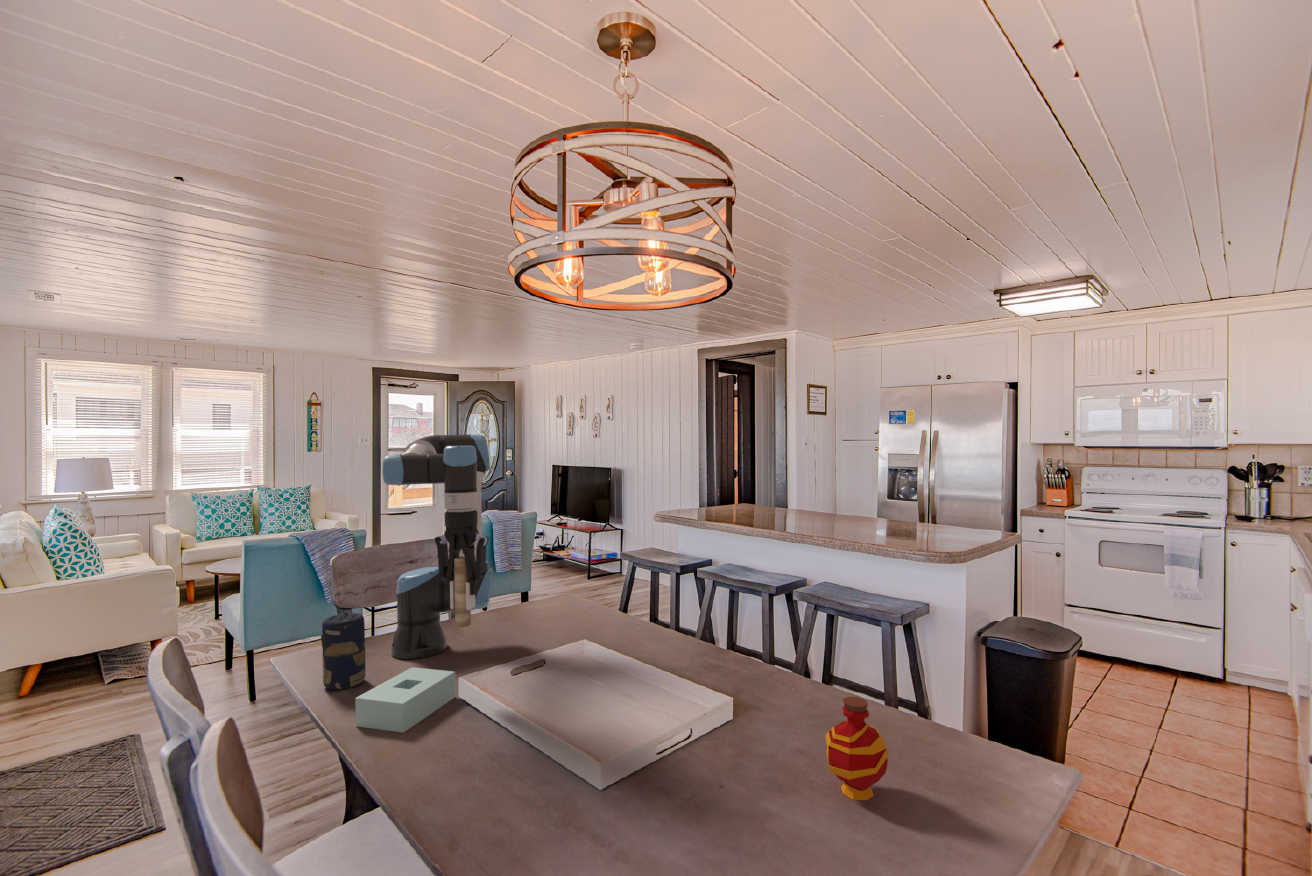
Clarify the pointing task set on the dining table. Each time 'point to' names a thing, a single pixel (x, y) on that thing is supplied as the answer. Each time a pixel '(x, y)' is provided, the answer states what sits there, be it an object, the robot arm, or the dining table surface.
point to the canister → (343, 650)
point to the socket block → (405, 699)
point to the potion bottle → (856, 751)
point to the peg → (461, 593)
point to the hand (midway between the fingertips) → (462, 607)
